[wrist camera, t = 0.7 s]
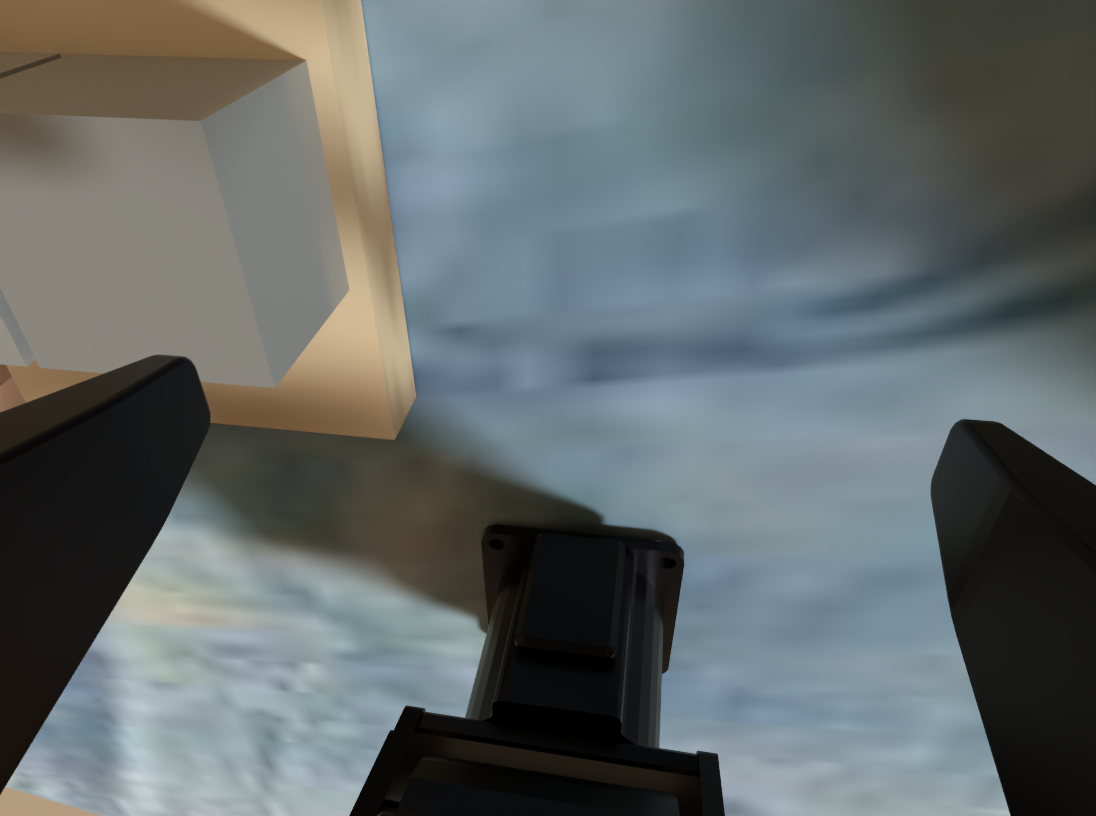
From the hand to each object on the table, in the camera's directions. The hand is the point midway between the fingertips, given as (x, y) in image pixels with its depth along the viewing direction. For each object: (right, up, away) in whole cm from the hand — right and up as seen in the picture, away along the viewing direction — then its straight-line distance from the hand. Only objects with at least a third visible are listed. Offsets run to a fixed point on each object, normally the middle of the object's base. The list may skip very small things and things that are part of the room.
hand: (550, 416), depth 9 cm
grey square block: (-7, +5, +7) cm, 12 cm away
